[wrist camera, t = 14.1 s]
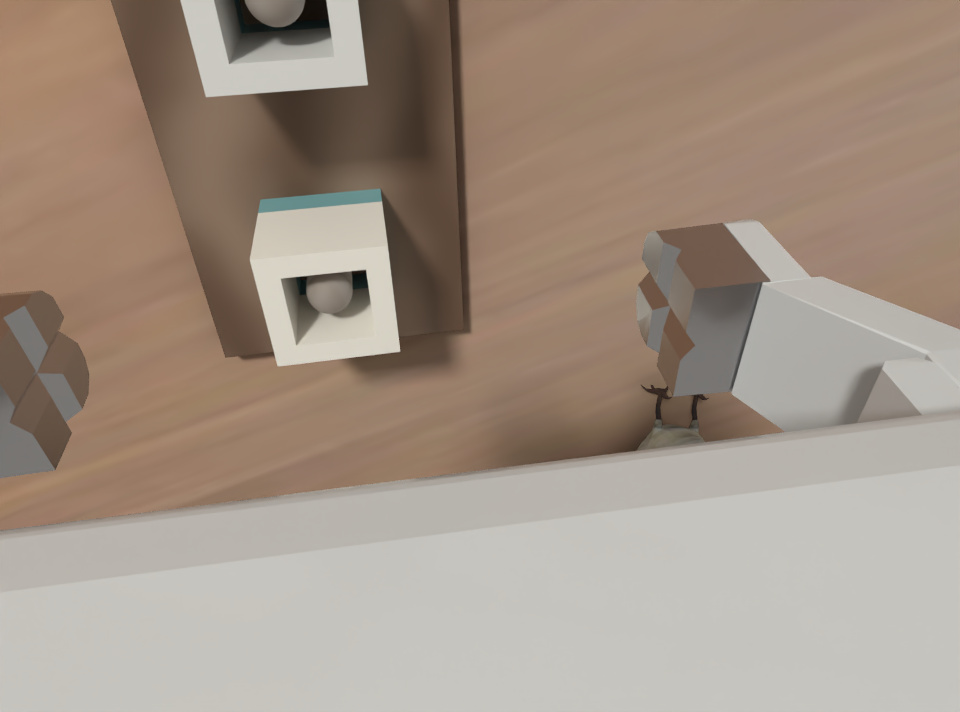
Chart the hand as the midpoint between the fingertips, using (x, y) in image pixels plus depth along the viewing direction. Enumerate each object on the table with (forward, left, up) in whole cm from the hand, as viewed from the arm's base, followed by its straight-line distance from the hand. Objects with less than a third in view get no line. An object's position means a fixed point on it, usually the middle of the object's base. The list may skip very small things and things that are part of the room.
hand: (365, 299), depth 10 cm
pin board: (+3, +6, -26) cm, 27 cm away
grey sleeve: (+3, 0, -25) cm, 25 cm away
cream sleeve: (+3, +13, -25) cm, 28 cm away
